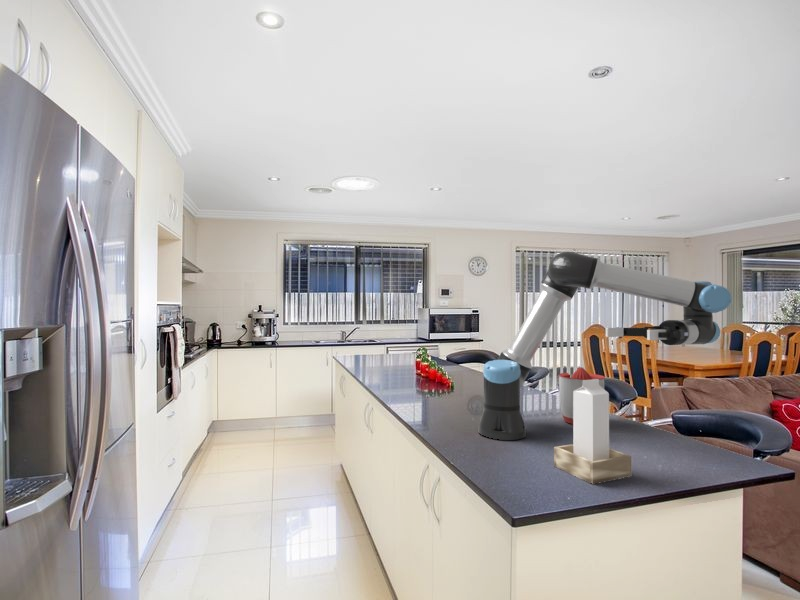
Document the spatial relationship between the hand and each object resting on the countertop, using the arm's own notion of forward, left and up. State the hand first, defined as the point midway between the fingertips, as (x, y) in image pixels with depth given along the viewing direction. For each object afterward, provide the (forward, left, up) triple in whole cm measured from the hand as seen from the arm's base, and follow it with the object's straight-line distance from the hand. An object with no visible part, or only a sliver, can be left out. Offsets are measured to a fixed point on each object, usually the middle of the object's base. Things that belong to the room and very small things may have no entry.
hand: (626, 333), depth 123 cm
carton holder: (+6, -20, -34) cm, 40 cm away
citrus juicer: (-32, +15, -34) cm, 49 cm away
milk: (+6, -20, -33) cm, 39 cm away
